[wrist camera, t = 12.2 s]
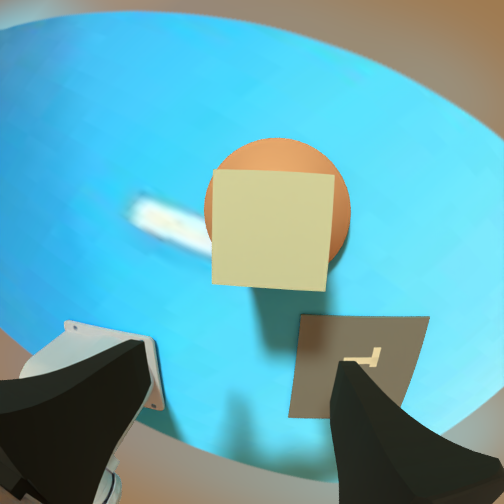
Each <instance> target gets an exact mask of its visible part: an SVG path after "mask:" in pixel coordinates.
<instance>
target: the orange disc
mask: <svg viewBox="0 0 504 504" xmlns="http://www.w3.org/2000/svg"><path fill="white" fill-rule="evenodd" d="M217 169H228V170H265V171H287V172H304V173H318V174H331V175H335V181H334V199H333V214H332V227H331V239H330V250H329V261H328V263H329V262H330V261H331V260H332V259H333V258H334V257H335V255H336V254H337V253H338V251H339V250H340V248H341V246H342V245H343V243H344V240H345V238H346V236H347V232H348V229H349V224H350V217H351V206H350V198H349V194H348V190H347V187H346V185H345V182H344V180H343V178H342V176H341V174H340V173H339V171H338V170H337V168H336V167H335V166H334V164H333V163H332V162H331V161H330V160H329V159H328V158H327V157H326V156H325V155H323V154H322V153H321V152H319V151H318V150H317V149H315V148H313V147H311V146H309V145H307V144H305V143H302V142H300V141H296V140H292V139H285V138H268V139H262V140H258V141H254V142H251V143H249V144H247V145H244V146H242V147H241V148H239V149H237V150H236V151H234V152H233V153H232V154H230V155H229V156H228V157H227V158H226V159H225V160H224V161H223V162H222V163H221V164H220V166H219V167H218V168H217ZM212 201H213V177H212V179H211V181H210V183H209V186H208V189H207V192H206V197H205V204H204V216H205V223H206V228H207V231H208V234H209V237H210V239H211V242H212Z"/></svg>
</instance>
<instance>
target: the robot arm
mask: <svg viewBox="0 0 504 504" xmlns="http://www.w3.org/2000/svg"><path fill="white" fill-rule="evenodd" d="M64 327H65V332H63V333H62V334H61V335H60V336H58V337H57V338H56V339H54V340H53V341H52V342H50V343H49V344H48V345H46V346H45V347H44V348H43V349H41V350H40V351H39V352H37V353H36V354H35V355H34V356H32V357H31V358H30V359H29V360H28V361H27V362H26V364H25V365H24V367H23V369H22V371H21V374H20V377H19V379H13V380H0V504H119V502H120V499H121V488H122V485H121V479H120V477H119V476H118V475H117V474H116V473H114V471H115V470H116V468H117V466H118V464H119V462H120V461H119V460H118V459H117V458H116V457H115V456H114V454H115V452H116V450H117V449H118V447H119V445H120V444H121V442H122V440H123V439H124V437H125V435H126V434H127V432H128V431H129V429H130V427H131V426H132V424H133V423H134V421H135V419H136V418H137V416H138V415H139V413H140V411H141V410H142V408H143V407H146V408H151V409H155V410H159V411H162V410H164V408H165V403H164V398H163V393H162V387H161V381H160V375H159V369H158V362H157V355H156V348H155V342H154V340H153V338H151V337H150V336H145V335H139V334H133V333H128V332H123V331H117V330H112V329H107V328H103V327H98V326H93V325H89V324H84V323H80V322H75V321H71V320H66V321H65V322H64ZM76 327H77V328H76ZM141 340H143V341H141ZM330 426H331V433H332V439H333V445H334V451H335V457H336V463H337V470H338V478H339V504H492V503H493V502H494V501H495V500H496V499H497V498H498V497H499V496H500V495H501V494H502V493H503V492H504V468H503V466H502V464H501V462H500V461H499V459H498V458H495V457H491V456H488V455H484V454H481V453H478V452H474V451H472V450H469V449H467V448H464V447H462V446H460V445H457V444H455V443H453V442H451V441H449V440H447V439H445V438H443V437H441V436H440V435H438V434H436V433H435V432H433V431H431V430H430V429H428V428H426V427H425V426H423V425H422V424H421V423H419V422H418V421H416V420H415V419H414V418H412V417H411V416H410V415H408V414H407V413H406V412H405V411H404V410H402V409H401V408H400V407H399V406H398V405H397V404H396V403H395V402H393V401H392V400H391V399H390V398H389V397H388V396H387V395H386V394H385V393H384V392H383V391H382V390H381V389H380V388H379V387H378V386H377V384H376V383H375V382H374V381H373V380H372V379H371V378H370V377H369V376H368V375H367V373H366V372H365V371H364V370H363V369H362V368H361V367H360V365H359V364H358V363H357V362H356V361H339V363H338V368H337V372H336V377H335V381H334V386H333V390H332V394H331V399H330Z"/></svg>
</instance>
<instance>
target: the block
mask: <svg viewBox="0 0 504 504" xmlns="http://www.w3.org/2000/svg"><path fill="white" fill-rule="evenodd" d="M334 181H335V175H331V174H318V173H304V172H287V171H265V170H228V169H213V201H212V284H219V285H231V286H244V287H258V288H273V289H289V290H306V291H324V292H325V288H326V279H327V270H328V261H329V250H330V239H331V227H332V214H333V199H334Z"/></svg>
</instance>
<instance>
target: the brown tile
mask: <svg viewBox="0 0 504 504" xmlns="http://www.w3.org/2000/svg"><path fill="white" fill-rule="evenodd" d="M429 319H430V317H429V316H409V317H390V316H338V315H312V314H301V319H300V329H299V338H298V347H297V355H296V363H295V371H294V379H293V386H292V394H291V401H290V408H289V414H288V418H330V399H331V394H332V390H333V386H334V381H335V377H336V372H337V368H338V363H339V361H356V362H357V363H358V364H359V365H360V367H361V368H362V369H363V370H364V371H365V372H366V373H367V375H368V376H369V377H370V378H371V379H372V380H373V381H374V382H375V383H376V384H377V386H378V387H379V388H380V389H381V390H382V391H383V392H384V393H385V394H386V395H387V396H388V397H389V398H390V399H391V400H392V401H393V402H395V403H396V404H397V405H398V406H399V407H401V404H402V402H403V399H404V397H405V394H406V392H407V389H408V386H409V384H410V381H411V378H412V375H413V372H414V369H415V366H416V363H417V360H418V357H419V354H420V351H421V348H422V344H423V341H424V337H425V334H426V330H427V326H428V323H429Z"/></svg>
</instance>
